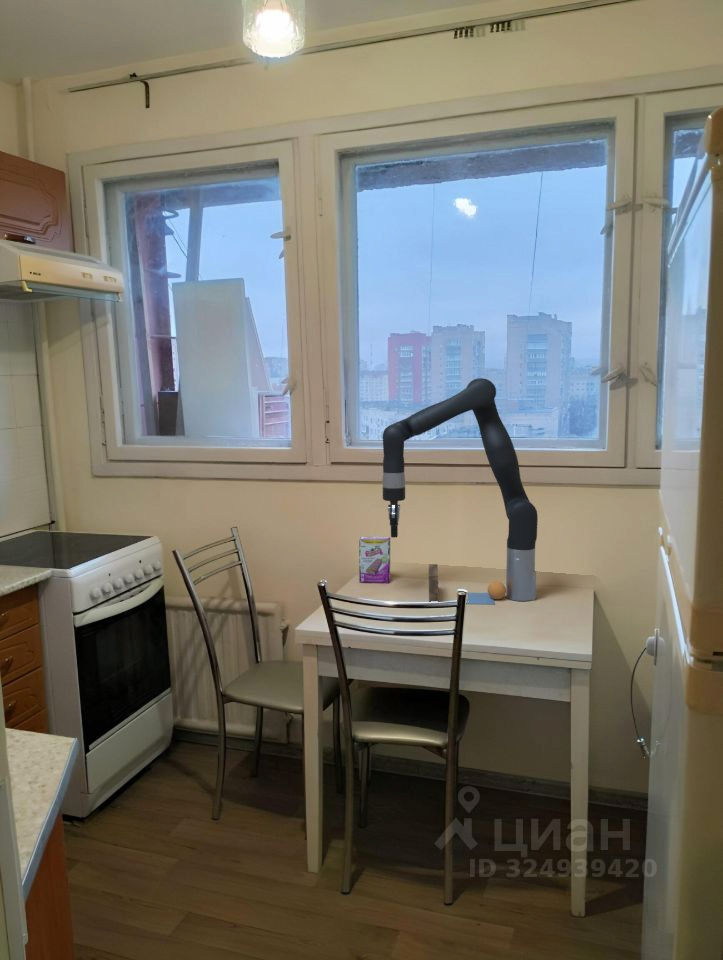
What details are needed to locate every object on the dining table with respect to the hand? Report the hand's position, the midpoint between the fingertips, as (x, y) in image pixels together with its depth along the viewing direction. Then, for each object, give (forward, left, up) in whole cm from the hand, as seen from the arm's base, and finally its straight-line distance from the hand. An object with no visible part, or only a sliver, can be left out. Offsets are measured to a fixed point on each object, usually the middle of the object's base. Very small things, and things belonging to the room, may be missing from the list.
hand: (394, 536), depth 236 cm
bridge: (-13, 0, -21) cm, 25 cm away
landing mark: (-27, 0, -21) cm, 34 cm away
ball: (-34, 0, -18) cm, 38 cm away
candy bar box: (+8, -19, -21) cm, 30 cm away
